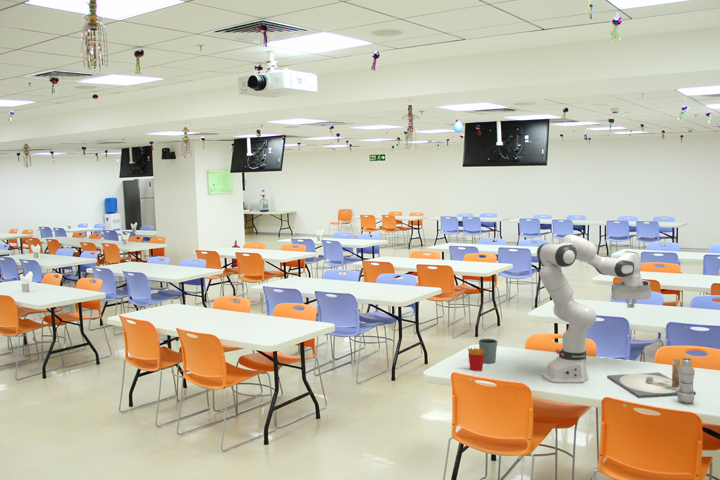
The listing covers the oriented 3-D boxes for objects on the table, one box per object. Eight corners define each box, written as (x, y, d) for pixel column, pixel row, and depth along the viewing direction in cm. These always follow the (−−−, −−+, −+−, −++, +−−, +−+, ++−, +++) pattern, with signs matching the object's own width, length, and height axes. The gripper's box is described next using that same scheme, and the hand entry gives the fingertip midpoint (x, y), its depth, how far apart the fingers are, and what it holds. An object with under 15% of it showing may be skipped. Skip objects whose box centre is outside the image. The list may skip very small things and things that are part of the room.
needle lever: (644, 382, 278) (645, 354, 277) (647, 380, 280) (648, 352, 279) (677, 390, 266) (678, 361, 265) (680, 388, 268) (681, 359, 267)
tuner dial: (638, 398, 263) (638, 394, 263) (607, 377, 291) (607, 374, 291) (695, 394, 265) (695, 391, 265) (659, 374, 293) (659, 371, 293)
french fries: (484, 369, 309) (484, 347, 307) (483, 371, 305) (483, 349, 304) (468, 367, 312) (468, 346, 310) (467, 370, 308) (467, 348, 307)
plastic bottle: (692, 406, 252) (693, 362, 250) (675, 402, 257) (676, 359, 255) (695, 401, 257) (697, 358, 255) (678, 398, 261) (680, 356, 259)
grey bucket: (476, 362, 321) (475, 341, 320) (483, 357, 329) (483, 337, 328) (493, 365, 315) (493, 344, 314) (499, 360, 323) (499, 339, 322)
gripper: (615, 283, 296) (615, 309, 297) (653, 282, 297) (652, 308, 299) (609, 281, 302) (608, 307, 303) (645, 280, 304) (645, 305, 305)
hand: (630, 307), depth 301 cm, fingers closed
